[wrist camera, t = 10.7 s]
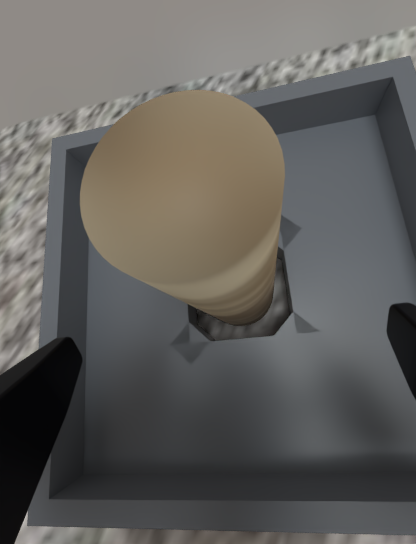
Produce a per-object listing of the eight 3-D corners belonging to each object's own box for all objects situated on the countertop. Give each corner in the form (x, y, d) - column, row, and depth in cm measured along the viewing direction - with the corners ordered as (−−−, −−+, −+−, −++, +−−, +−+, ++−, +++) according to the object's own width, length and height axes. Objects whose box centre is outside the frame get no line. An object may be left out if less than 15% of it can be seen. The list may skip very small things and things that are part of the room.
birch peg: (255, 337, 17) (220, 323, 5) (196, 307, 18) (44, 230, 6) (284, 277, 18) (322, 120, 5) (225, 251, 19) (141, 71, 6)
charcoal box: (475, 477, 14) (570, 539, 9) (87, 479, 17) (27, 526, 13) (377, 121, 19) (410, 55, 14) (94, 178, 22) (52, 138, 18)
